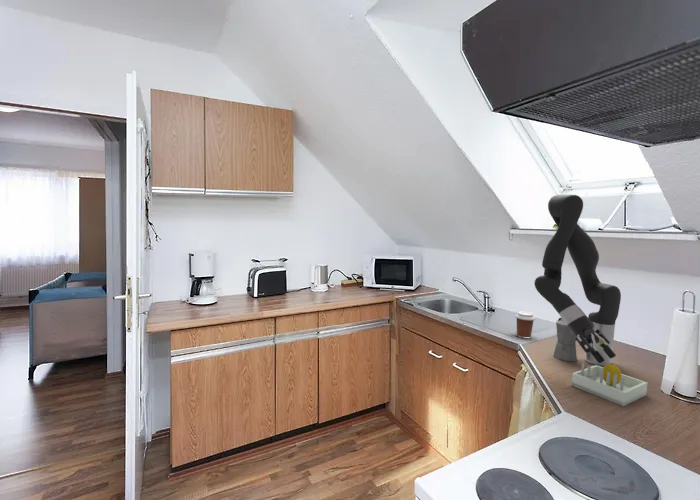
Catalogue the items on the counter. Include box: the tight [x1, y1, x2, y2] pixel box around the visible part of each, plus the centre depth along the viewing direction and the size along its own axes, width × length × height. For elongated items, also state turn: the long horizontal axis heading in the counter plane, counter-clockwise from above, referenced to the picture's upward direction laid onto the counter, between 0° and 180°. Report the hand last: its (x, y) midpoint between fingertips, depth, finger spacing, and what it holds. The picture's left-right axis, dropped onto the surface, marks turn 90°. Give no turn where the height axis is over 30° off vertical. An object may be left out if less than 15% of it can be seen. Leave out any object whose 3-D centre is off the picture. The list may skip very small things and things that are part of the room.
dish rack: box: [571, 363, 648, 407], centre depth 123 cm, size 16×16×8 cm
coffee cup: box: [514, 310, 536, 338], centre depth 180 cm, size 9×9×12 cm
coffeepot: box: [553, 317, 579, 362], centre depth 153 cm, size 15×9×18 cm, turn 171°
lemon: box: [602, 362, 622, 386], centre depth 124 cm, size 6×6×8 cm
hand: (607, 359), depth 125 cm, fingers open, 8 cm apart
